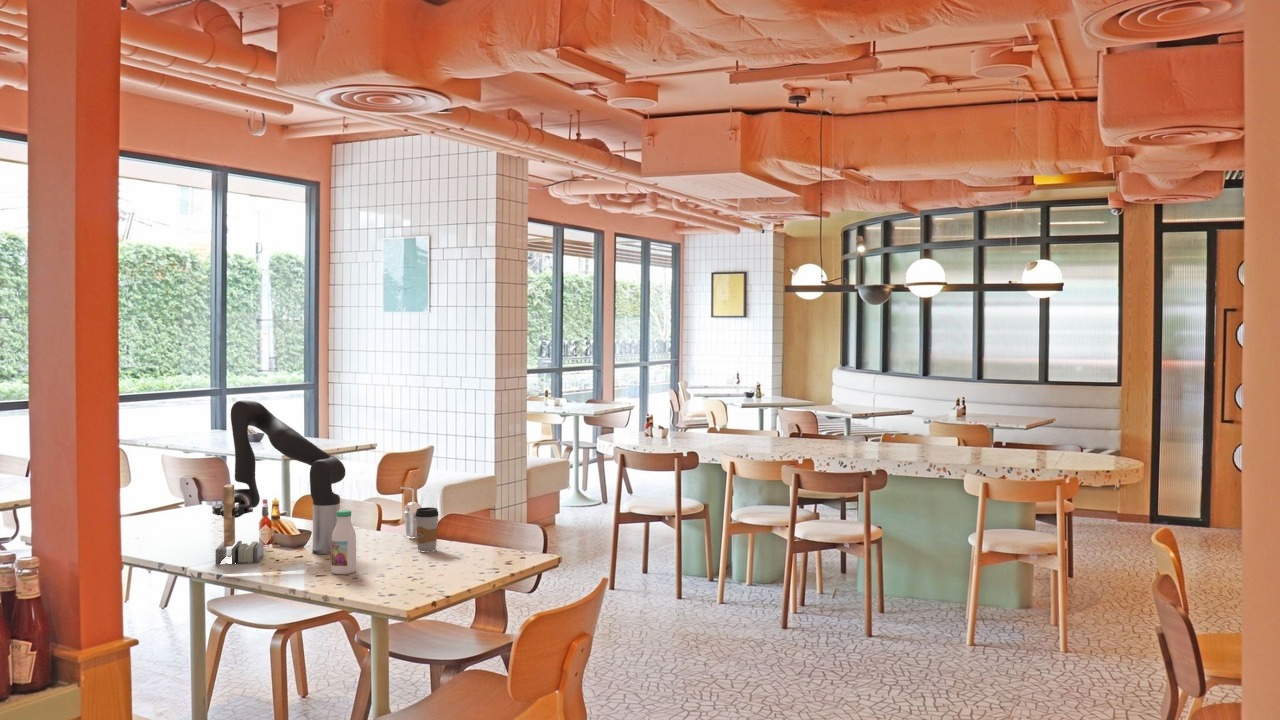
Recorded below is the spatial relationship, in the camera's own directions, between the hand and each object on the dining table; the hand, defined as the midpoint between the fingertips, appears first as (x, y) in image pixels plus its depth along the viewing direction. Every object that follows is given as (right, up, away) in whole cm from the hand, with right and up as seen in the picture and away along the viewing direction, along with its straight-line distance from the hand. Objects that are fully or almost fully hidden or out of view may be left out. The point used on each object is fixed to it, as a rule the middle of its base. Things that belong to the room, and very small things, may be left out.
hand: (227, 513), depth 324 cm
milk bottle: (+42, -18, -9) cm, 46 cm away
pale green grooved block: (+5, -16, +5) cm, 18 cm away
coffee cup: (+61, -18, +25) cm, 68 cm away
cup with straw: (+50, -17, +48) cm, 72 cm away
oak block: (-1, -11, +3) cm, 11 cm away
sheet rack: (+2, -17, +4) cm, 18 cm away
